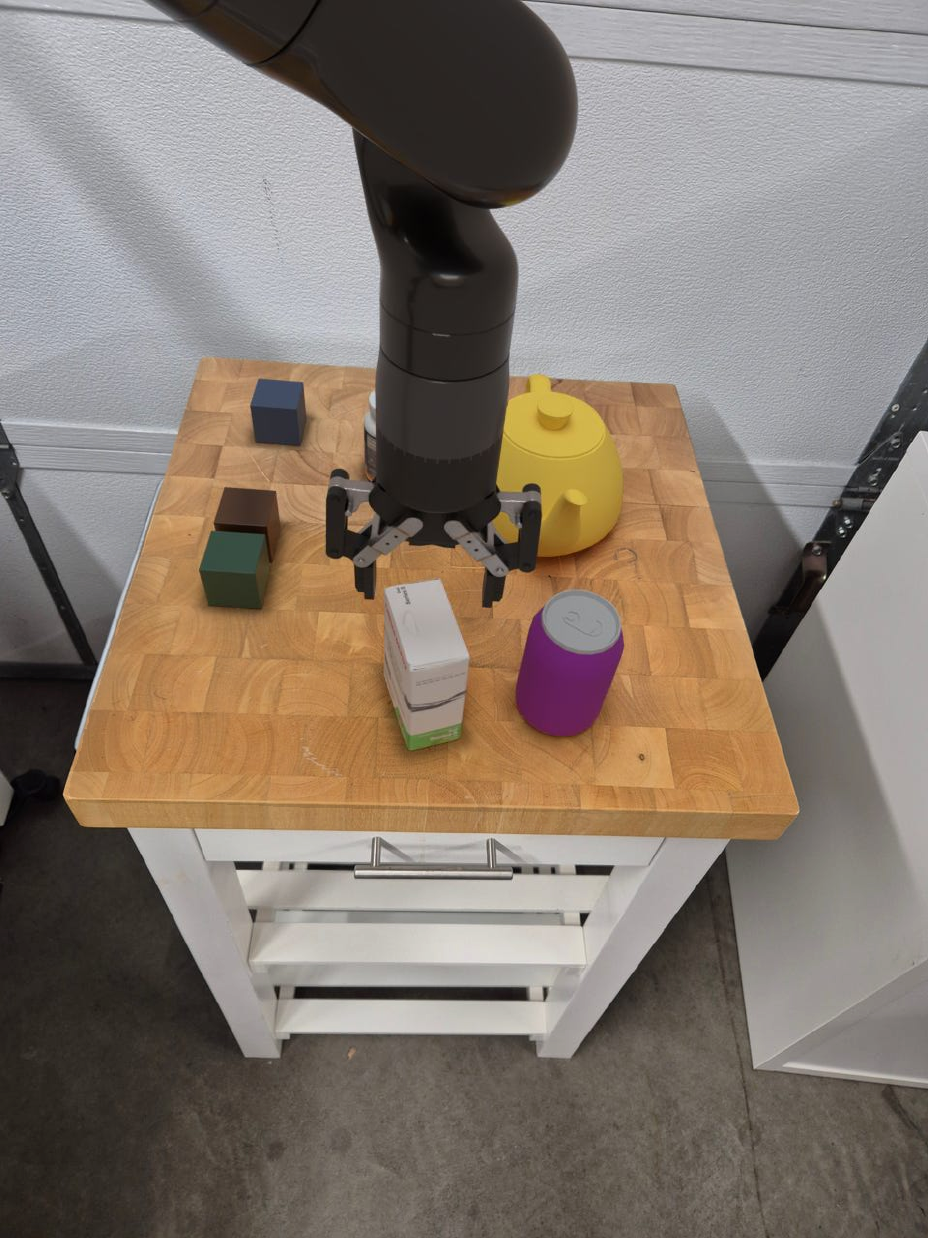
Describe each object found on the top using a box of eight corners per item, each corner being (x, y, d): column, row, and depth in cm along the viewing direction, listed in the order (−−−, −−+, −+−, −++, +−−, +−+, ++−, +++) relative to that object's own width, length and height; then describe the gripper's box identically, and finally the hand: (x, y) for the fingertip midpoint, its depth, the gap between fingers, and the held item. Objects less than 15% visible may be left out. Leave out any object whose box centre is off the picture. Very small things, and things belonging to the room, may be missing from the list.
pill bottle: (377, 451, 92) (377, 375, 84) (424, 465, 91) (428, 390, 83) (356, 481, 89) (353, 405, 81) (404, 497, 88) (407, 422, 80)
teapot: (640, 604, 81) (679, 502, 70) (462, 605, 79) (475, 500, 68) (596, 442, 96) (623, 338, 86) (447, 439, 94) (455, 333, 84)
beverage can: (498, 717, 71) (516, 632, 62) (534, 656, 76) (556, 568, 66) (579, 756, 69) (610, 674, 60) (611, 691, 74) (644, 606, 64)
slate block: (255, 442, 91) (249, 405, 88) (263, 414, 95) (258, 377, 91) (300, 445, 92) (296, 409, 88) (306, 418, 95) (303, 381, 91)
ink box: (462, 740, 69) (474, 658, 60) (405, 753, 68) (409, 671, 59) (434, 660, 74) (441, 574, 65) (381, 671, 73) (381, 585, 64)
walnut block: (221, 559, 80) (213, 522, 76) (231, 523, 83) (224, 486, 79) (272, 562, 80) (267, 526, 76) (280, 527, 83) (276, 490, 80)
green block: (207, 605, 76) (198, 569, 72) (219, 566, 79) (210, 530, 76) (261, 609, 76) (255, 573, 73) (270, 570, 80) (265, 533, 76)
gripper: (307, 445, 44) (324, 629, 57) (566, 464, 45) (526, 642, 58) (325, 365, 49) (338, 551, 62) (559, 384, 50) (524, 564, 62)
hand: (429, 595), depth 60 cm, fingers open, 8 cm apart
